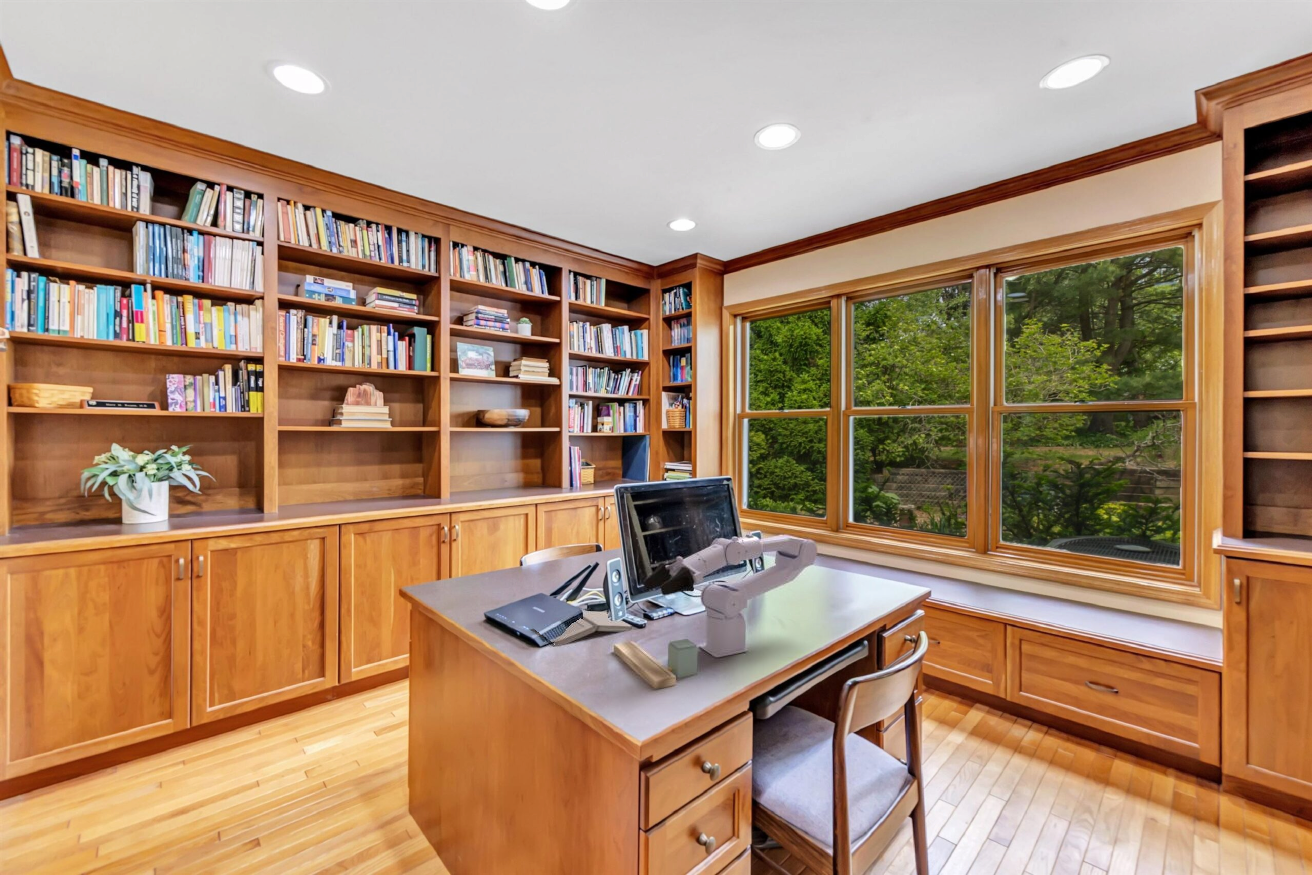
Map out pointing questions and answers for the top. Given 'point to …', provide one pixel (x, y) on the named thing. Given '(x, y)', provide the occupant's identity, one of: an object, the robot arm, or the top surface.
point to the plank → (645, 665)
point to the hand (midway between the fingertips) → (653, 588)
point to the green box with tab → (682, 658)
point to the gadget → (590, 627)
